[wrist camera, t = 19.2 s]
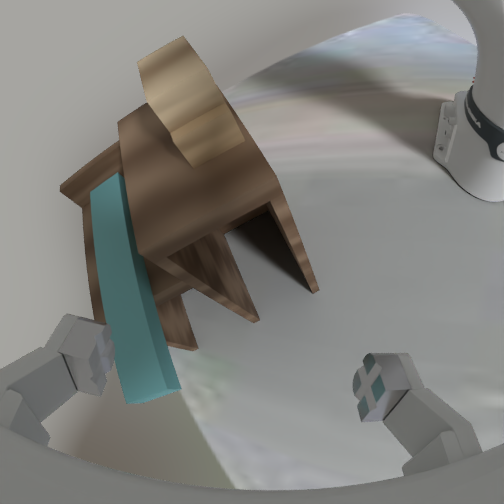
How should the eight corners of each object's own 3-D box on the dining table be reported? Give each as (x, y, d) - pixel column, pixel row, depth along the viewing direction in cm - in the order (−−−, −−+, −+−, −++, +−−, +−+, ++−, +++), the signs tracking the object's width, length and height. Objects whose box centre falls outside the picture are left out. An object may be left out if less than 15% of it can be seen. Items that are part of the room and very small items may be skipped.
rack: (319, 290, 41) (245, 103, 13) (192, 351, 43) (-13, 288, 15) (272, 202, 49) (179, 21, 20) (164, 260, 51) (11, 146, 22)
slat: (181, 389, 21) (167, 389, 19) (142, 403, 22) (126, 403, 20) (128, 182, 31) (117, 172, 30) (101, 201, 32) (90, 192, 30)
